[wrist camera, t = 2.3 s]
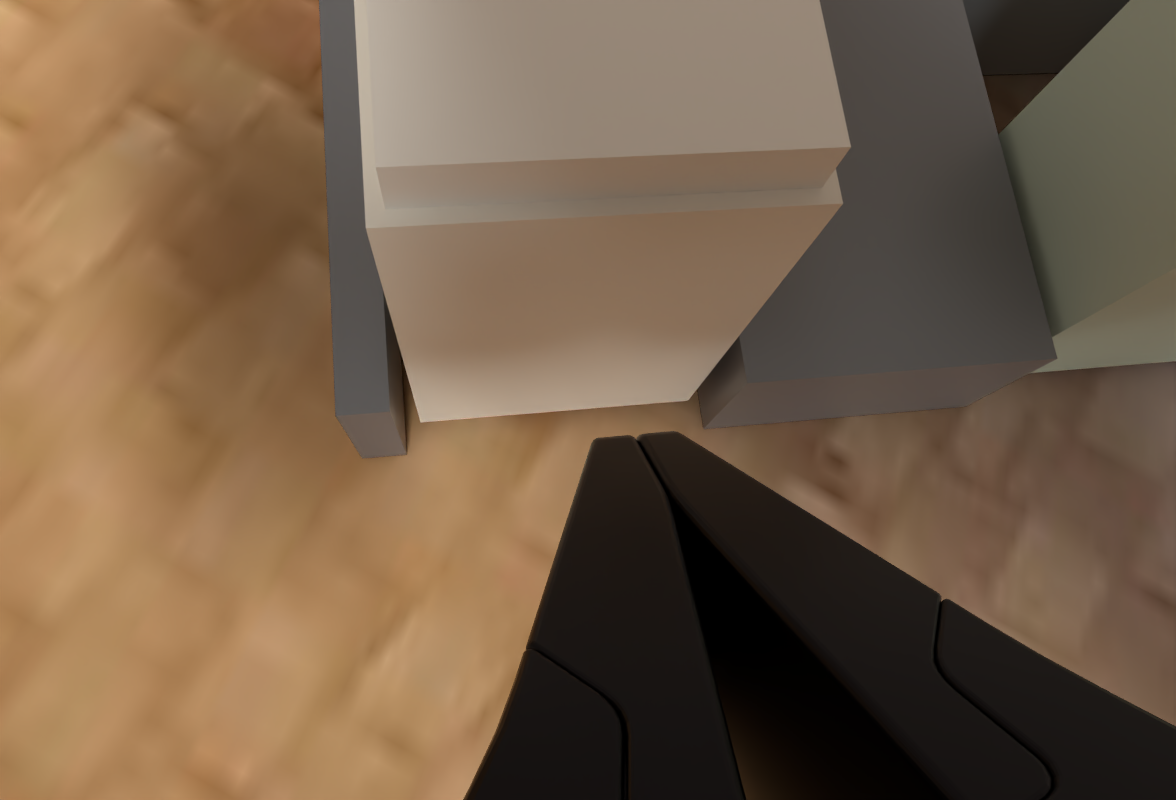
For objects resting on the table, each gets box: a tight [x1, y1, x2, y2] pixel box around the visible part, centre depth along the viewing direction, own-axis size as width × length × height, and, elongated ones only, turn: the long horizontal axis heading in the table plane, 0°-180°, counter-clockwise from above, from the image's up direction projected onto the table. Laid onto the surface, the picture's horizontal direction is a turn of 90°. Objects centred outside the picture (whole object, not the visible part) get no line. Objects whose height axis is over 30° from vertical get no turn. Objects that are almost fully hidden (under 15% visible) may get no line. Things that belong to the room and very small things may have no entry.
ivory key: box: [354, 0, 851, 422], centre depth 13 cm, size 4×5×8 cm
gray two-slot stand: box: [319, 0, 1130, 458], centre depth 17 cm, size 9×18×3 cm, turn 97°
